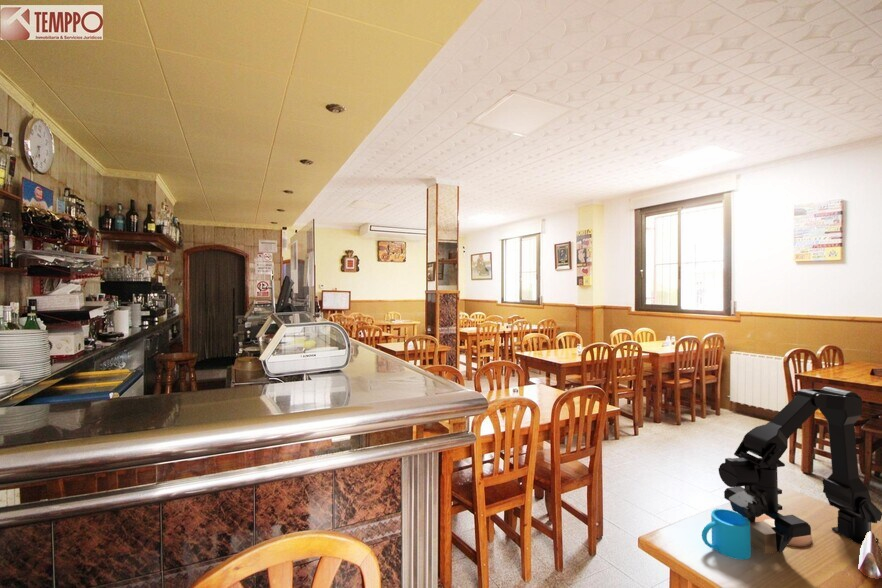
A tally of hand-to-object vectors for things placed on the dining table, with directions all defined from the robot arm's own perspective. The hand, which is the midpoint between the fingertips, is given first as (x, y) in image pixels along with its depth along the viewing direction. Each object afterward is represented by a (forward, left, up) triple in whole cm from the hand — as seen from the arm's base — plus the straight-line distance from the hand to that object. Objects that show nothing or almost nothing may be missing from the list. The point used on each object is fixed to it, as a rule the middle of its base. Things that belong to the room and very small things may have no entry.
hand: (764, 542), depth 102 cm
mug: (+11, -1, -1) cm, 11 cm away
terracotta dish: (-10, -4, -1) cm, 11 cm away
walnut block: (0, 0, -1) cm, 1 cm away
